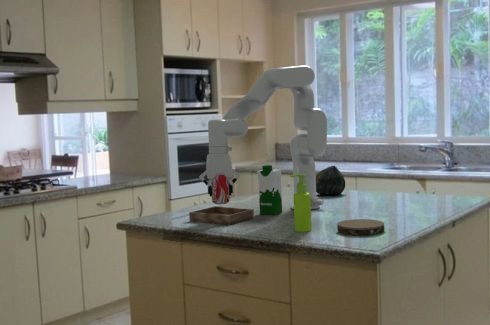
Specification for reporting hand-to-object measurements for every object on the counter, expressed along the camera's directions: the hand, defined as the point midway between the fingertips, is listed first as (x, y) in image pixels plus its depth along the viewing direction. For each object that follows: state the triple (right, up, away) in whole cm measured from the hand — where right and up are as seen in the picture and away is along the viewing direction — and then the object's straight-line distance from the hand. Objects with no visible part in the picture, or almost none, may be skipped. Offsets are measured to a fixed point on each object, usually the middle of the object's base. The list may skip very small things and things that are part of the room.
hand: (220, 195), depth 246 cm
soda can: (0, -3, 0) cm, 4 cm away
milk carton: (+21, -8, +11) cm, 25 cm away
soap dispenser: (+30, -11, -27) cm, 41 cm away
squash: (+51, -3, +55) cm, 75 cm away
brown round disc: (+50, -11, -32) cm, 60 cm away
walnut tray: (+1, -10, +1) cm, 10 cm away
